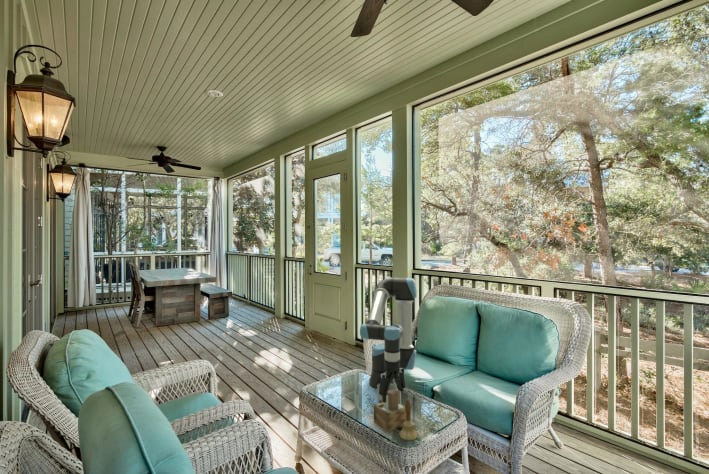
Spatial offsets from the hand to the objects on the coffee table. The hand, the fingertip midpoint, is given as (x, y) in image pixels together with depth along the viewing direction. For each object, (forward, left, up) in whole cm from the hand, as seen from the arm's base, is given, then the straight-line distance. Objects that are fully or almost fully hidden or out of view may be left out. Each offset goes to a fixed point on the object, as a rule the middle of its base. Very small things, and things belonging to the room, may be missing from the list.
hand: (392, 405), depth 167 cm
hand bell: (+1, +12, -8) cm, 15 cm away
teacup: (-10, -17, -8) cm, 21 cm away
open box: (0, 0, -8) cm, 8 cm away
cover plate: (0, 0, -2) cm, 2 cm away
